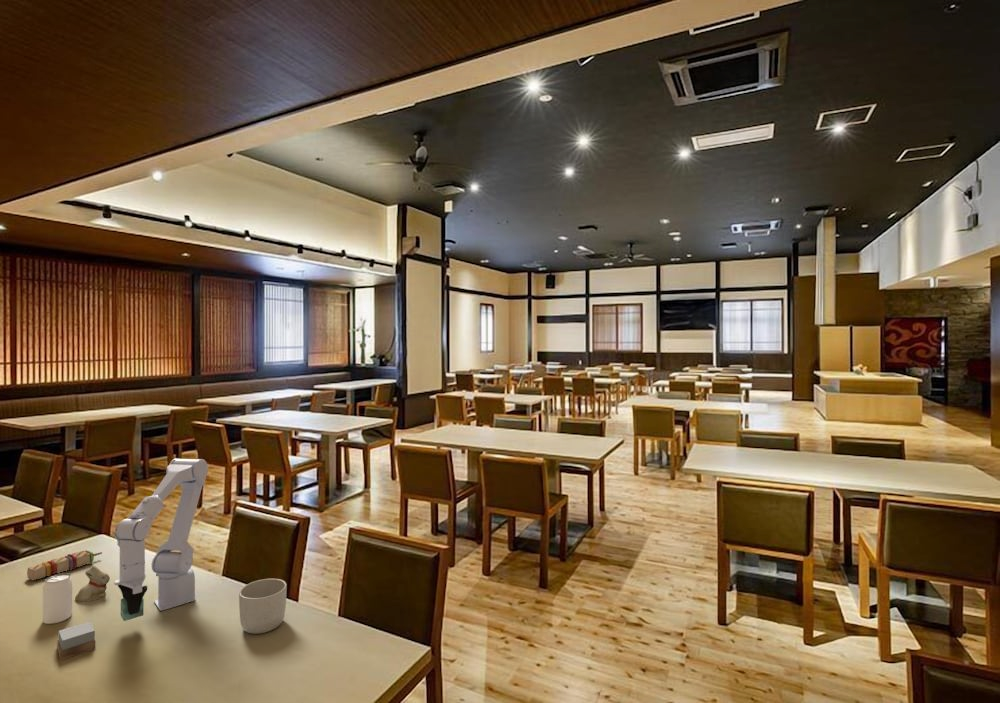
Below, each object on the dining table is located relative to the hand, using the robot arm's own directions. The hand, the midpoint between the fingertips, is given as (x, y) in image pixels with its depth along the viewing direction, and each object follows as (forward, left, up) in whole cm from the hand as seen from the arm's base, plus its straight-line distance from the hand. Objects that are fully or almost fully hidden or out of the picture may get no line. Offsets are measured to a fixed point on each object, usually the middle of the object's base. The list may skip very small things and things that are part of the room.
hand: (132, 609), depth 142 cm
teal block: (0, 0, -2) cm, 2 cm away
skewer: (+8, -62, -6) cm, 63 cm away
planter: (-27, +23, -6) cm, 36 cm away
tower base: (+12, 0, -6) cm, 14 cm away
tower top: (+12, 0, -4) cm, 13 cm away
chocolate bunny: (+5, -31, -6) cm, 32 cm away
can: (+14, -22, -6) cm, 27 cm away
